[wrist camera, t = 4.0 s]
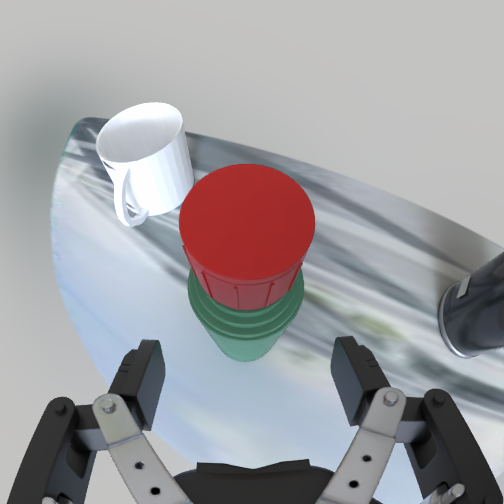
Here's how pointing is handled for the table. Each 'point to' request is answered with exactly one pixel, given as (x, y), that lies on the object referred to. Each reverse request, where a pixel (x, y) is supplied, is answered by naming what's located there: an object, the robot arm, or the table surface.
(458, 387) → the table surface
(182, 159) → the mug
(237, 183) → the cap
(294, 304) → the bottle
